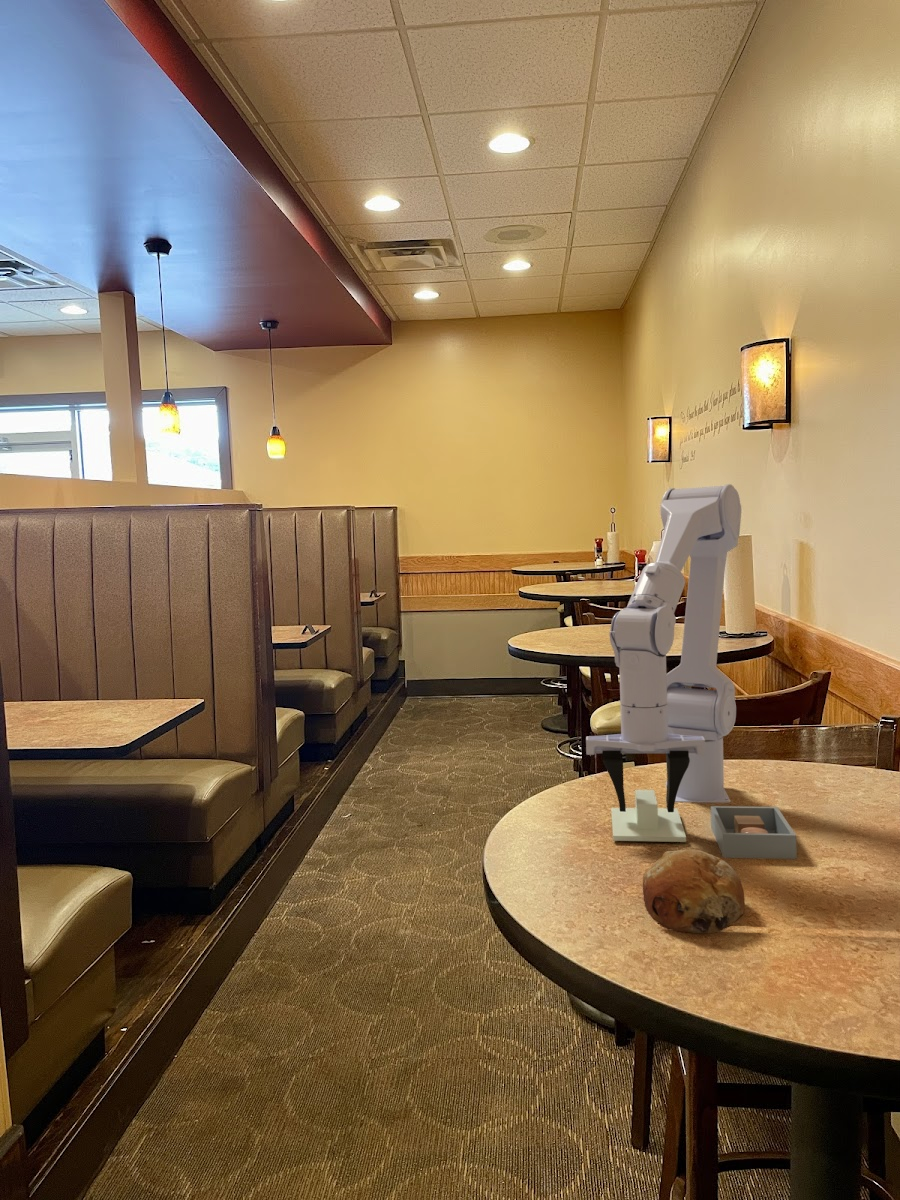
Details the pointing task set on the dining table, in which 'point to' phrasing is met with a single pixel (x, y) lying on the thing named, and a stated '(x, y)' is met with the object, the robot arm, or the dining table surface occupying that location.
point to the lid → (647, 821)
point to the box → (753, 834)
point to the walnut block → (747, 822)
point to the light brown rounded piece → (753, 830)
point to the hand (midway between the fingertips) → (646, 809)
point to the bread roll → (693, 892)
